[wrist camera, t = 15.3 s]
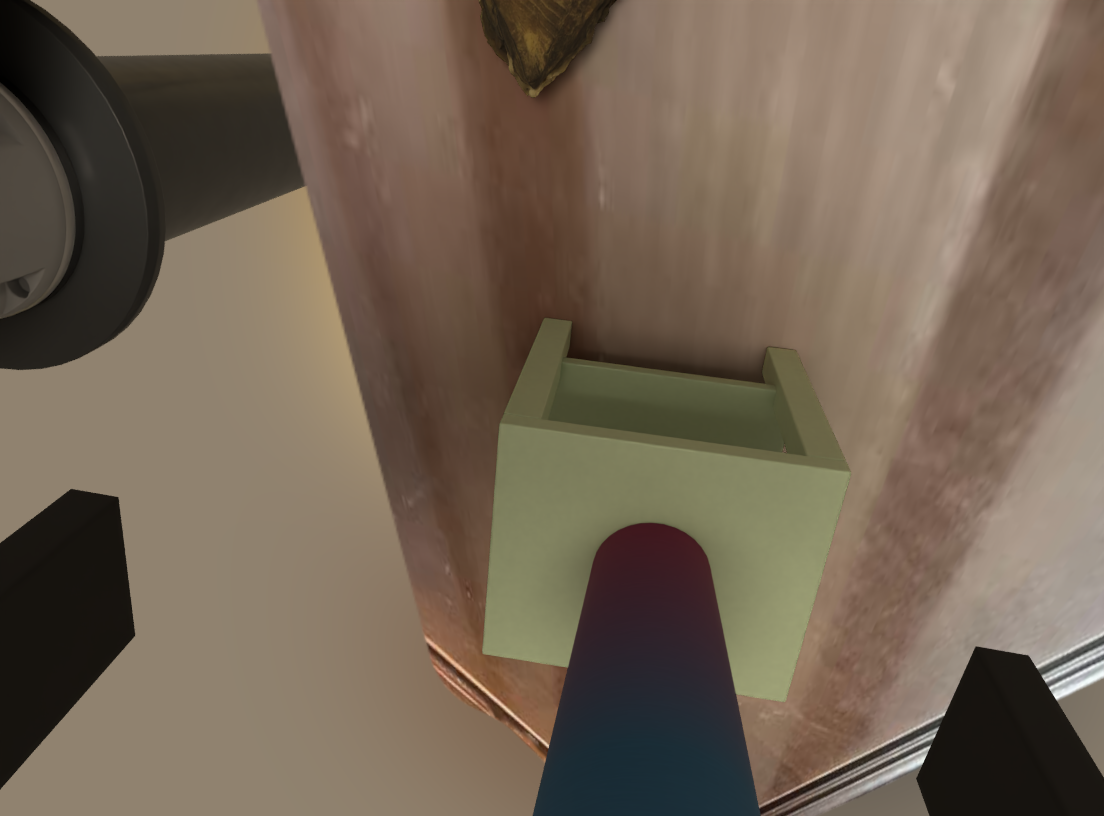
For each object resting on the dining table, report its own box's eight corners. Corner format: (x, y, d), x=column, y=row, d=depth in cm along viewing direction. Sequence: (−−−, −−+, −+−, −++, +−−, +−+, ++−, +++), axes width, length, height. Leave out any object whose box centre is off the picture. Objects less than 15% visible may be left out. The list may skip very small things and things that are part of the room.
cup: (698, 482, 32) (726, 799, 19) (754, 612, 34) (815, 980, 21) (546, 531, 34) (470, 852, 20) (608, 652, 36) (577, 1013, 23)
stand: (526, 500, 50) (481, 654, 37) (544, 317, 45) (498, 423, 32) (753, 533, 49) (785, 703, 36) (796, 349, 44) (852, 472, 31)
